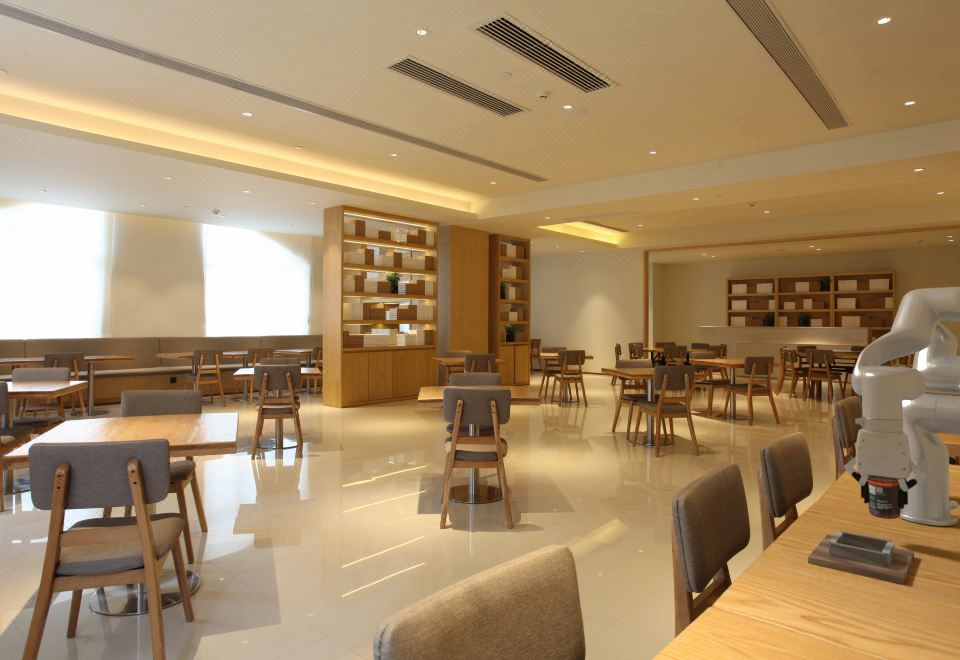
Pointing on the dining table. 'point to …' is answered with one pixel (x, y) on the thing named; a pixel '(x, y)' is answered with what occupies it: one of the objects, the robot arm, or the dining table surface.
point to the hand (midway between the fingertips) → (884, 503)
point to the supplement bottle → (883, 497)
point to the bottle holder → (863, 556)
